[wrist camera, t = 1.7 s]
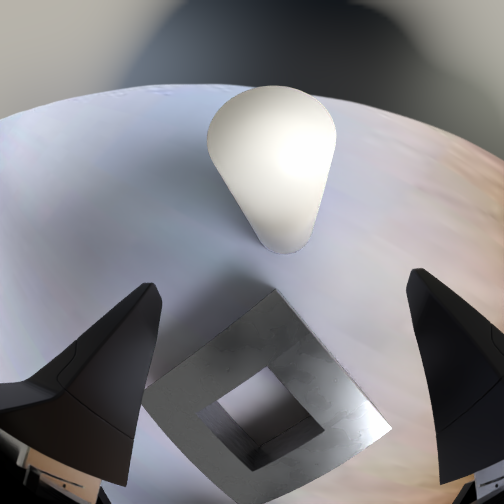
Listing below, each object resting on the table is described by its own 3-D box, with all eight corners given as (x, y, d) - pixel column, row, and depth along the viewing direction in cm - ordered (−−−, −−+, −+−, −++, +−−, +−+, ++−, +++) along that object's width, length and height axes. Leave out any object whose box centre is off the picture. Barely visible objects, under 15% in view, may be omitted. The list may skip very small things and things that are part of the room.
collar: (253, 484, 18) (246, 510, 14) (158, 382, 21) (135, 395, 17) (376, 408, 18) (391, 428, 14) (278, 290, 21) (275, 289, 17)
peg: (281, 266, 21) (262, 218, 8) (245, 223, 22) (184, 133, 9) (324, 229, 21) (362, 137, 8) (287, 189, 22) (275, 70, 9)
